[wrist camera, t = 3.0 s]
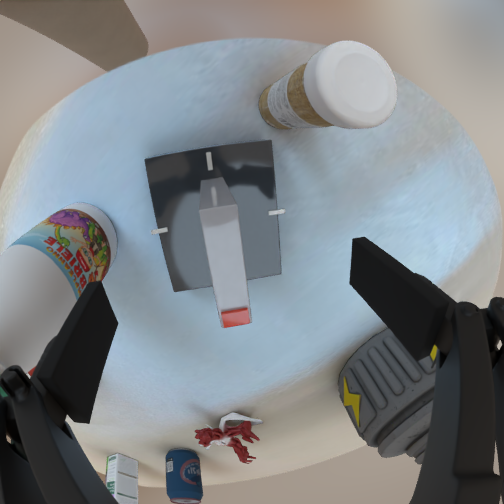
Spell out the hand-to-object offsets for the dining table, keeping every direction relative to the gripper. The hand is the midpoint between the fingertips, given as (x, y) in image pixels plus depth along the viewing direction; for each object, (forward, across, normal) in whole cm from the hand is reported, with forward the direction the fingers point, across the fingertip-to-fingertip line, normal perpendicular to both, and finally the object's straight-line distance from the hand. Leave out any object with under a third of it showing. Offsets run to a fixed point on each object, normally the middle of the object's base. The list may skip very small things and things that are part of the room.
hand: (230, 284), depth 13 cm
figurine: (+13, -4, -35) cm, 37 cm away
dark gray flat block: (+13, 0, 0) cm, 13 cm away
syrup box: (+13, -32, -51) cm, 61 cm away
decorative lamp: (+13, +23, -29) cm, 39 cm away
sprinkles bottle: (+13, +7, +9) cm, 17 cm away
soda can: (+13, -16, -47) cm, 51 cm away
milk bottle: (+13, -14, 0) cm, 19 cm away
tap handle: (+10, 0, 0) cm, 10 cm away
